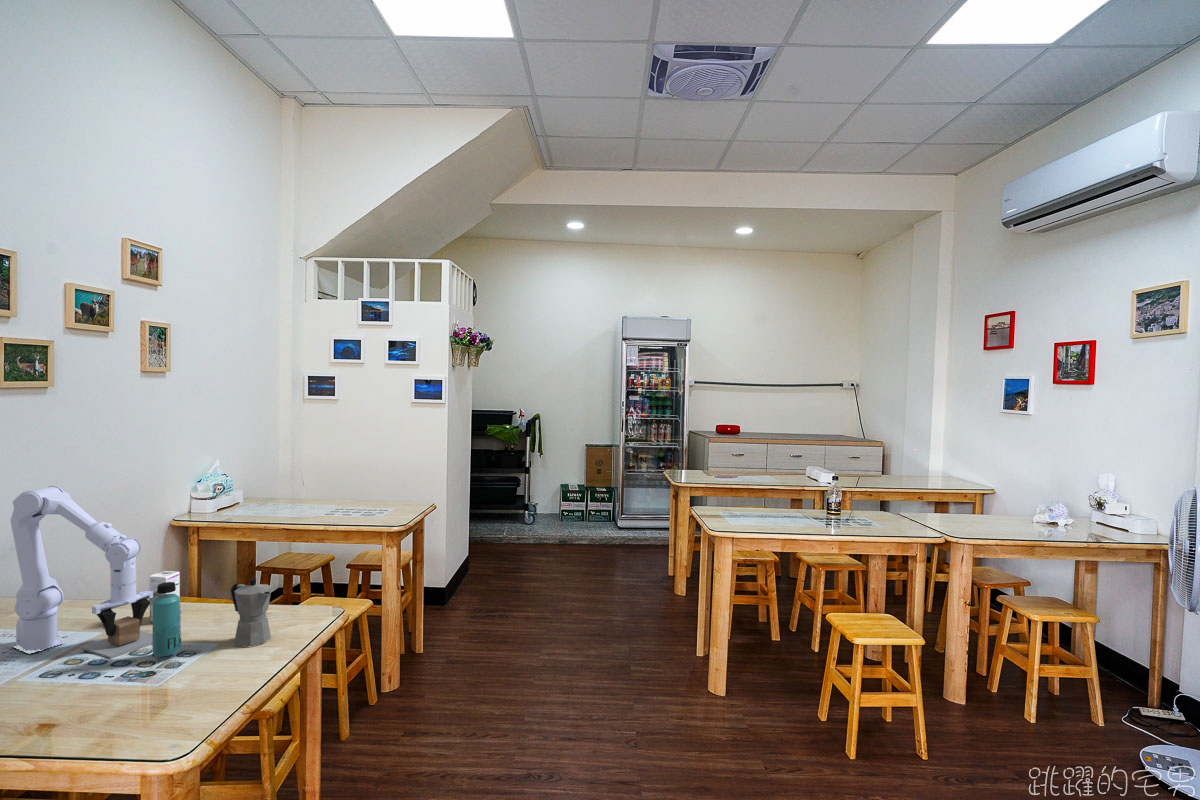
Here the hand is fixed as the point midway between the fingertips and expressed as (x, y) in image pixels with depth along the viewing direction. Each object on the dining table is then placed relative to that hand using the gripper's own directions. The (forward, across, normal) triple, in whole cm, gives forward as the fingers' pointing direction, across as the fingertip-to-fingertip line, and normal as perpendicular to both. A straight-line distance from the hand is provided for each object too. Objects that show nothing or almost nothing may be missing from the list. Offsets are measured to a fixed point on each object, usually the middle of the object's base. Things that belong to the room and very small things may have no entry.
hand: (123, 630), depth 174 cm
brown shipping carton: (+3, 0, 0) cm, 3 cm away
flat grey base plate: (+4, 0, 0) cm, 4 cm away
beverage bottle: (+4, 0, -19) cm, 19 cm away
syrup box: (+4, +16, +8) cm, 18 cm away
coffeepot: (+4, +17, -29) cm, 34 cm away
